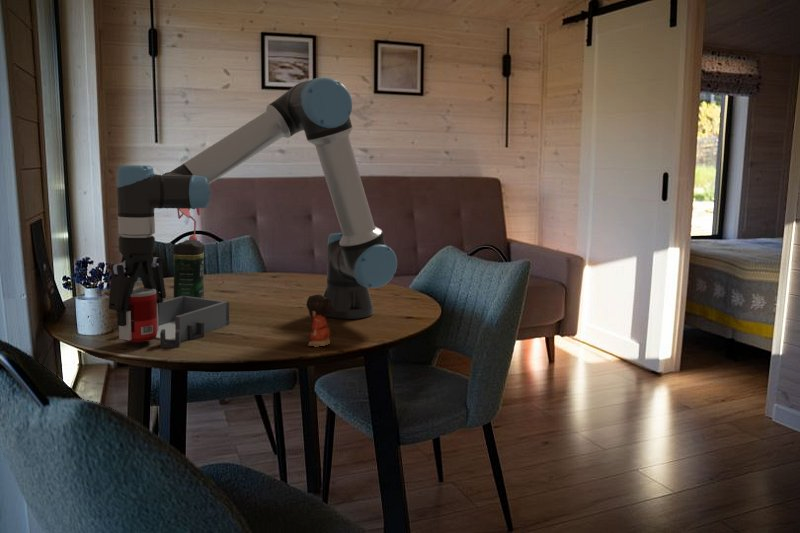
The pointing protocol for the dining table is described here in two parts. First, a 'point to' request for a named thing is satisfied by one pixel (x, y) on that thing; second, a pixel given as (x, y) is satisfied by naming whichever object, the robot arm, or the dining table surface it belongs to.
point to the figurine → (319, 319)
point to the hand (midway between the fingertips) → (139, 334)
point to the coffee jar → (189, 269)
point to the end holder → (191, 315)
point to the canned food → (143, 314)
